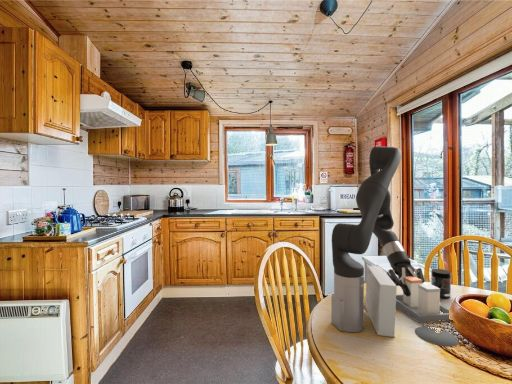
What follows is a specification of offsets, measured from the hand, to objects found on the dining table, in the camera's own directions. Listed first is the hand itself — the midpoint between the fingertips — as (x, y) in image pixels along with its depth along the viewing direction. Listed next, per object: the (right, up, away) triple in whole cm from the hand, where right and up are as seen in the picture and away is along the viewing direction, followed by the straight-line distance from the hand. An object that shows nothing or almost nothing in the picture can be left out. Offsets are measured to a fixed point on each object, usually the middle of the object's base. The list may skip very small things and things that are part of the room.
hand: (415, 295), depth 104 cm
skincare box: (-18, -5, -9) cm, 21 cm away
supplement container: (+16, -5, +10) cm, 20 cm away
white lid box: (+1, -4, -6) cm, 8 cm away
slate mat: (-5, -5, -20) cm, 21 cm away
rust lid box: (0, -4, +2) cm, 5 cm away
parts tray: (0, -5, -2) cm, 5 cm away
